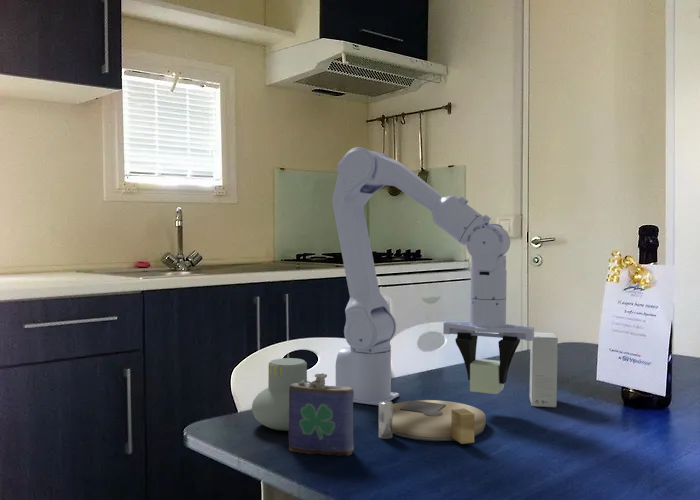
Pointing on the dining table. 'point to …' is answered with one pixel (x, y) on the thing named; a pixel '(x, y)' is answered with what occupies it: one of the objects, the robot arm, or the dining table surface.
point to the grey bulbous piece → (278, 392)
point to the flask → (320, 418)
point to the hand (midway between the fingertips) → (487, 380)
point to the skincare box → (543, 369)
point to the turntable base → (387, 432)
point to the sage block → (485, 376)
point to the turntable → (437, 419)
